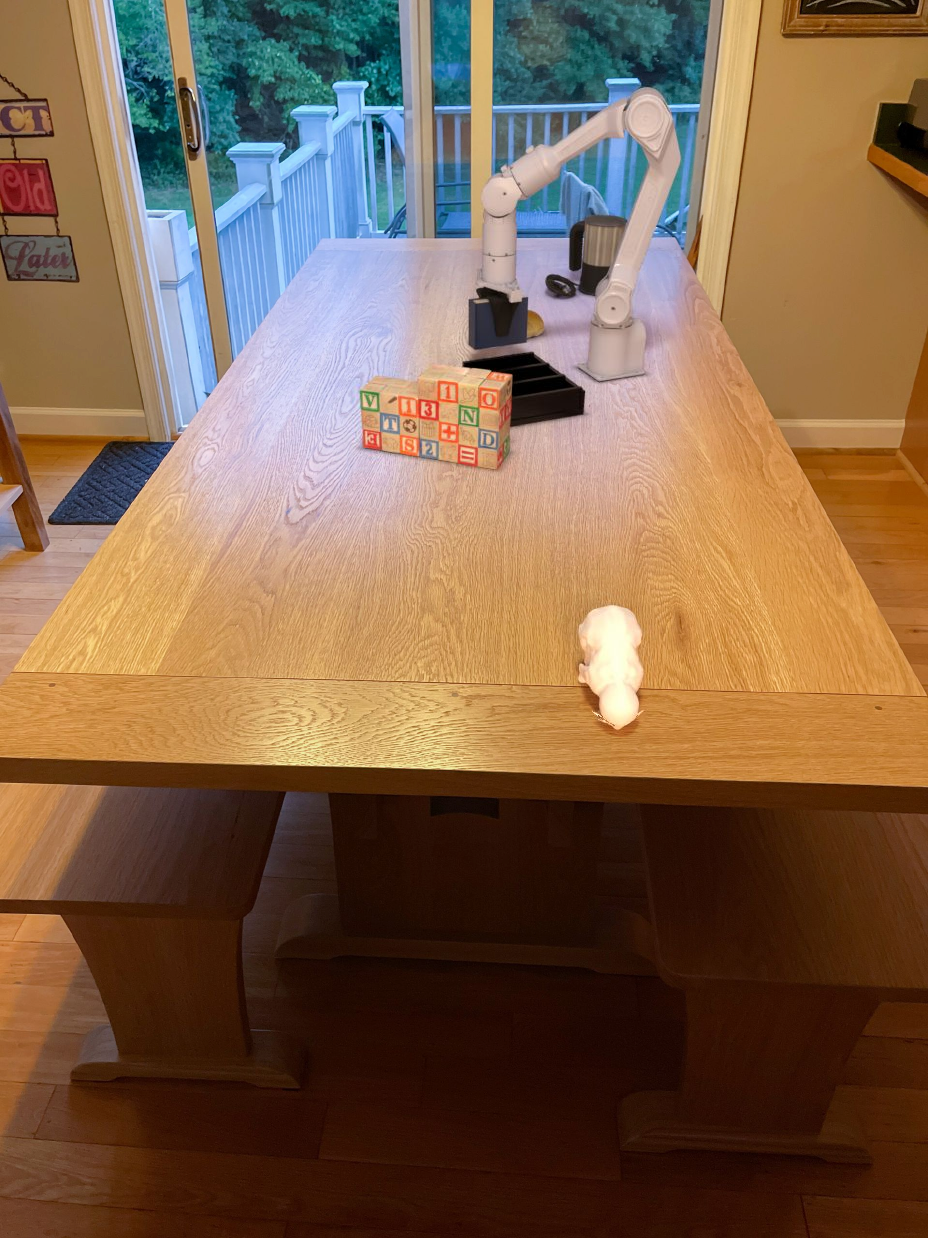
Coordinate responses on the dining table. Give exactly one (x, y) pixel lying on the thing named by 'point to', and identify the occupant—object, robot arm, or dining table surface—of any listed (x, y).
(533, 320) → the bread roll
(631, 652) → the white animal figurine
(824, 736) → the dining table surface
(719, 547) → the dining table surface
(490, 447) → the stack of blocks
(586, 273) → the milk frother
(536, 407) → the rack
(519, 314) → the book
